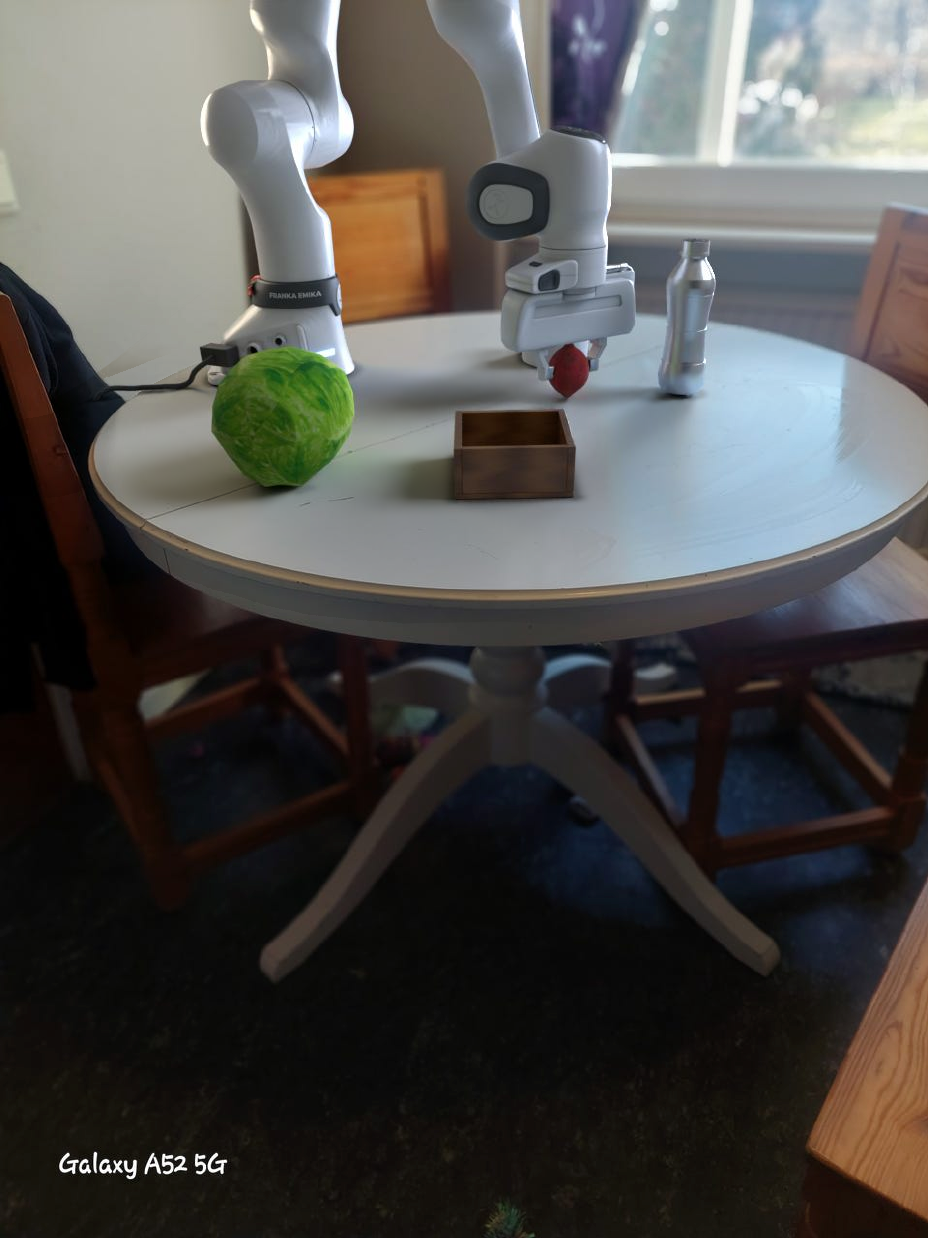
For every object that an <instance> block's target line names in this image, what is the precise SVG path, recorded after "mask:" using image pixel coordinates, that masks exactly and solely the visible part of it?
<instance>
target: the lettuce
mask: <svg viewBox="0 0 928 1238" xmlns="http://www.w3.org/2000/svg"><path fill="white" fill-rule="evenodd" d="M354 401H355V400H354V392H353V389H352V387H351V385H350V382H349V379H348V376H347V375H346V373H345V372H344V371H343V370H342V369H340V368H339V367H338V366H336V365H335V364H334V363H332V362H331V361H330V360H328V359H327V358H326V357H324V356H323V355H321V354H318V353H314V352H310V351H307V350H303V349H299V348H295V347H283V348H276V349H269V350H263V351H261V352H258V353H254V354H250V355H247V356H245V357H244V358H242V359H241V360H240V361H239V362H238V363H237V364H236V365H235V366H234V367H233V368H232V369H231V370H230V372H229V373H228V374H227V375H226V376H225V377H224V378H223V380H222V381H221V382H220V383H219V385H217V388H216V393H215V396H214V399H213V403H212V406H211V407H212V408H211V428H210V432H211V434H212V435H213V436H214V437H215V439H216V440H217V441H218V444H219V445H221V447H222V448H223V450H224V451H225V453H226V454H227V456H228V457H229V458H230V459H231V460H232V462H233V463H234V464H235V466H236V467H237V468H238V470H239V471H240V472H241V474H242V475H243V476H244V477H246V478H249V479H250V480H252V481H254V482H256V483H257V484H259V485H261V486H263V487H265V488H266V487H272V486H289V487H303V486H305V484H306V483H307V482H308V481H310V480H311V479H312V478H313V477H314V476H316V475H317V473H319V472H320V471H321V470H322V469H324V468H325V467H326V466H327V465H329V464H330V463H331V462H332V461H333V459H335V457H336V456H337V454H338V453H339V451H340V450H341V448H342V447H343V446H344V444H345V442H347V440H348V438H349V436H350V434H351V430H352V425H353V422H354V418H355V413H356V412H355V403H354Z"/></svg>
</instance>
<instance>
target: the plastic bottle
mask: <svg viewBox="0 0 928 1238" xmlns="http://www.w3.org/2000/svg"><path fill="white" fill-rule="evenodd" d="M710 246H711V240H710V239H708V238H699V237H692V238H691V237H690V238H684V239H683V238H682V239H681V242H680V250H679V253H678V255H679V256H680V259H679V261H678V262H677V263H676V264H675V266H674V267H673V268H672V270H671V271H670V272H669V274H668V276H667V279H666V282H665V290H666V292H665V293H666V309H667V310H666V328H665V329H666V332H665V333H666V334H665V340H664V343H663V351H662V357H661V359H660V363H659V366H658V371H657V379H658V386H659V388H660V389H661V390H662V391H663V392H665V393H668V394H673V395H679V396H680V395H683V396H684V395H694V394H697V393H699V392H700V391H701V390H702V389H703V387H704V386H705V385H704V384H705V381H706V377H707V366H706V365H707V364H706V334H707V329H708V328H707V325H708V323H709V318H710V317H709V316H710V311H711V307H712V304H713V299H714V295H715V291H716V286H717V281H716V277H715V274H714V272H713V269H712V267H711V265H710V263H709V261H708V258H707V257H709V256H710V253H711V252H710V248H711V247H710Z"/></svg>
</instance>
